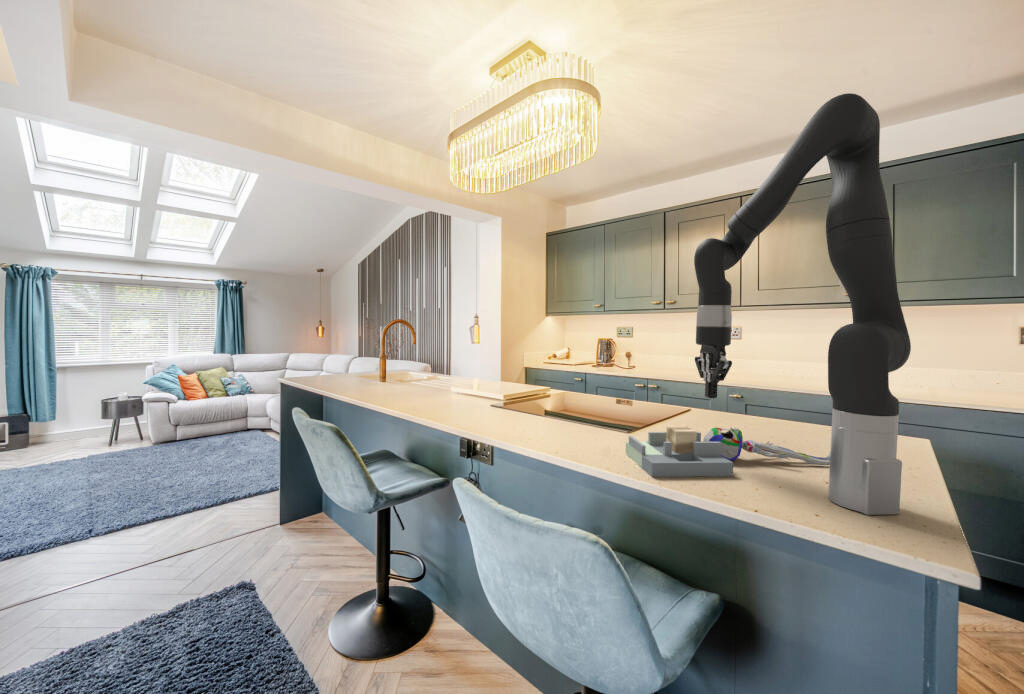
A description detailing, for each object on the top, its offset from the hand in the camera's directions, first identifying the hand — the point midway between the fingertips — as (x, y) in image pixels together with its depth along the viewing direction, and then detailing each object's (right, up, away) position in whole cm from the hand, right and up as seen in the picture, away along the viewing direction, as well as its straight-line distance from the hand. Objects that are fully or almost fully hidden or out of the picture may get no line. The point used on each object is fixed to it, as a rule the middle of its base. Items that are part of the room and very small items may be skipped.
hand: (710, 397), depth 100 cm
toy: (+15, -16, +1) cm, 22 cm away
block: (-7, -12, 0) cm, 14 cm away
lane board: (-9, -15, -1) cm, 18 cm away
